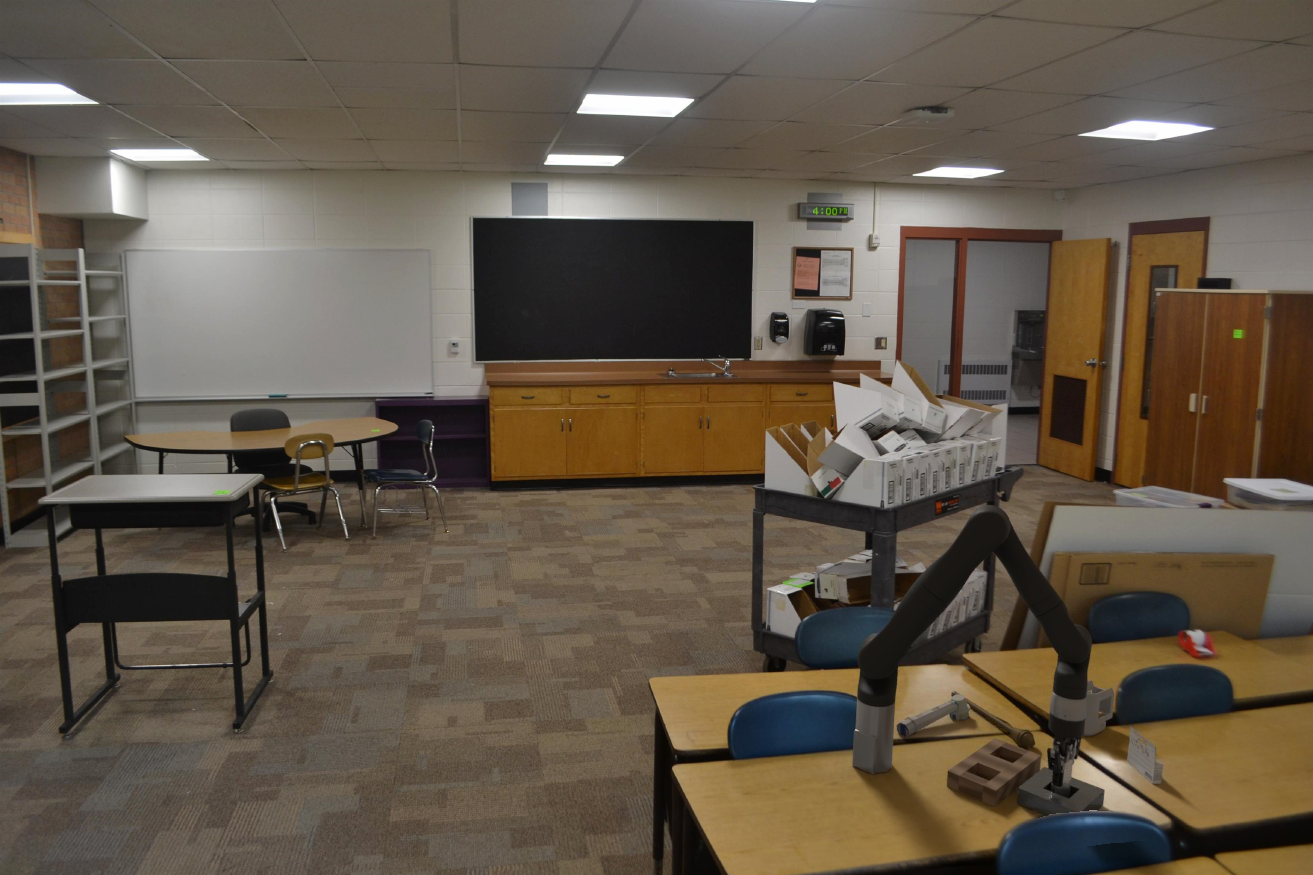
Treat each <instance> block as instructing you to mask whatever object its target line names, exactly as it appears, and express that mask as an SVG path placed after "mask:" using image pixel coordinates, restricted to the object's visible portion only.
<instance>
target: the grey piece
mask: <svg viewBox="0 0 1313 875" xmlns="http://www.w3.org/2000/svg"><path fill="white" fill-rule="evenodd" d="M966 698H967V697H966V696H965V695H963V694H961V693H959V694H957V695H954V696H952V697H951V699H950V700H949V701H947V702H944V703H941V704H939V705H936V706H935V707H932V708H929V709H927V710H925V711H922V712H919V713H918V714H915V715H913V716H911V717H910V716H907V717H906V718H904V720H902V721H900V722H898V724H896V725H895V726H896V731H897V733H898V735H899V736H901V737H903V738H906V737H909V736H910V735H915V734H917V733H918V732H919V731H920V730H922V729H924V728H926V727H928V726H930V725H931V724H933V723H935V722H937V721H939V720H941V719H943V718H945V717H946V716H948V715H949V717H950V718H951V719H952V720H954V721H962V720H963V721H966V720H967V719H968V717H969V716H970V711H971V707H970V706H969V704H967V702H966Z"/></svg>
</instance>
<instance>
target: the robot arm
mask: <svg viewBox="0 0 1313 875" xmlns="http://www.w3.org/2000/svg"><path fill="white" fill-rule="evenodd" d="M992 553H993V554H994V555H995V557H996V558H997V559H998V560H999V561H1000V563H1001V564H1002V566H1003V567H1004V568H1005V571H1006V572H1007V574H1008V575H1009V577H1010V579H1011V581H1012V583H1013V584H1014V587H1015V589H1016V591H1017V593H1018V594H1019V596H1020V597H1021V599H1022V601H1023V602H1024V604H1025V605H1026V606H1027V608H1028V609H1029V610H1030V611H1031V613H1032V614H1033V616H1034V617H1035V619H1036V620H1037V621H1038V622H1039V624H1040V625H1041V627H1042V630H1043V632H1044V634H1045V636H1046V638H1047V639H1048V641H1049V644H1050V645H1051V646H1052V648H1053V650H1054V651H1055V652H1056V654H1057V659H1056V660H1057V664H1056V666H1055V671H1054V674H1053V685H1052V693H1051V697H1050V704H1049V714H1048V715H1049V716H1048V729H1049V731H1050V732H1051V733H1052V734H1054V738H1053V740H1052V747H1048V748H1047V750H1046V754H1047V756H1046V757H1047V768H1048V769H1050V770H1053V775H1052V784H1053V785H1055V786H1057V787H1062V786H1063V777H1064V769H1065V764H1066V763H1068V760H1069V757H1071V758H1072V759H1073V765H1074V764H1075V760H1077V759H1078V757H1079V752H1080V747H1081V743H1082V738H1083V737H1084V736H1085V735H1084V730H1085V719H1086V708H1087V703H1086V695H1087V684H1088V681H1089V679H1088V678H1089V677H1088V672H1089V665H1090V659H1091V653H1092V647H1093V638H1092V635H1091V633H1090V631H1089V630H1088V629H1087V628H1086V627H1084V626H1083V625H1081V624H1077V623H1074V621H1073V620H1072V619H1071V617H1070V615H1069V610H1068V608H1067V605H1066V603H1065V602H1064V600H1062V598H1061V596H1060V595H1059V593H1058V592H1057V591H1056V589H1055V588H1054V587H1053V586H1052V584H1051V583H1050V581H1049V580H1048V579H1047V578H1046V576H1045V575H1044V574H1043V573H1042V571H1041V569H1040V568H1039V567H1038V566H1037V564H1036V562H1034V560H1033V559H1032V558H1031V556H1030V554H1029V553H1028V551H1027V550H1026V548H1025V547H1024V545H1023V543H1022V541H1021V540H1020V538H1019V537H1018V534H1017V532H1016V530H1015V528H1014V526H1013V524H1012V522H1011V520H1010V517H1009V516H1008V514H1007V512H1006V511H1005V510H1003V509H1002V508H1001V507H999V506H996V505H993V504H985V505H982V506H980V507H979V506H978V508H976V509H975V510H974V511H973V512H972V513H971V515H970V516H969V517H968V519H967V521H966V523H965V525H964V527H963V528H962V529H961V531H960V533H959V534H958V535H957V537H956V538H955V540H954V541H953V543H952V544H951V545H950V546H949V548H948V549H946V551H945V552H944V553H942V555H940V556H939V557H938V558H937V559H936V560H934V561H933V562H932V564H930V565H929V566H928V567H927V568H926V569H925V570H924V571H923V572H922V574H920V575H919V577H918V578H917V579H916V580H915V582H913V583H912V585H911V586H910V587H909V589H908V590H907V592H906V593H905V594H904V596H903V597H902V599H901V601H900V602H899V604H898V605H897V607H896V609H895V611H894V613H893V614H892V616H891V618H890V619H889V621H888V622H887V624H886V625H884V627H883V628H882V629H881V630H880V631H879V632H874V633H872V634H871V633H870V634H869V635H868V636H866V637H865V638H864V640H863V641H862V643H861V646H860V648H859V650H858V654H857V665H858V668H859V676H858V683H857V692H856V693H857V697H856V711H855V712H856V714H855V715H856V717H855V729H854V731H853V746H852V766H853V767H855V768H858V769H860V770H862V771H864V772H867V773H869V774H871V775H875V774H881V773H886V772H888V771H890V770H891V769H892V767H893V752H894V749H893V748H894V729H895V711H896V697H897V688H898V676H899V674H898V673H899V663H900V661H901V660H902V658H903V657H904V656H905V654H906V653H907V652H908V650H909V649H910V647H911V646H912V645H913V644H914V642H915V641H917V639H918V638H919V637H920V636H921V635H923V634H924V632H926V631H927V629H929V628H930V627H931V625H932V624H933V623H934V622H936V620H938V618H939V617H941V615H942V614H943V613H944V612H945V611H946V609H947V608H948V607H949V606H950V605H951V603H952V602H953V601H954V600H955V599H956V597H957V596H958V595H959V593H960V592H961V591H962V590H963V588H964V586H965V585H966V583H967V581H968V580H969V578H970V577H971V576H972V574H973V572H974V571H975V570H976V569H977V568H978V567H979V565H981V563H982V562H983V561H985V560H986V559H987V558H988V557H989V556H990V555H991V554H992ZM1060 756H1063V757H1065V758H1062V757H1060Z"/></svg>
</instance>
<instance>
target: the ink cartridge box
mask: <svg viewBox="0 0 1313 875" xmlns="http://www.w3.org/2000/svg"><path fill="white" fill-rule="evenodd" d="M1140 739H1142V741H1144V743H1145V744H1144V743H1143V742H1142V741H1141V740H1140ZM1127 749H1128V751H1127V759H1126V761H1127V763H1128V764H1129V765H1130V766H1132V767H1133V768H1134V769H1135V770H1136V771H1137V772H1138V773H1139V774H1140V775H1142V776H1143V777H1144V778H1145V779H1146V780H1148V782H1149V783H1151V784H1153V785H1161V784H1162V778H1163V770H1164V764H1163V763H1162V762H1161V761H1160V760H1158V759H1157V758H1156V755H1157V746H1156V745H1155V744H1154V743H1152V742H1151V741H1150V740H1149V739H1147V738H1146V737H1144V735H1142V734H1141V733H1139V731H1137V730H1136V729H1135V728H1133V727H1132V726H1129V744H1128V748H1127Z"/></svg>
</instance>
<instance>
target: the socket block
mask: <svg viewBox="0 0 1313 875" xmlns="http://www.w3.org/2000/svg"><path fill="white" fill-rule="evenodd" d="M1052 773H1053V770H1050V769H1048V767H1046V766H1044V767H1042V768H1040V771H1039V772H1037V773H1036V774H1035V775H1034V776H1032V777H1031V778H1030V779H1029V780H1027V781H1026V782H1025V783H1024V784H1022V785H1021V786H1020V787H1018V788H1017V796H1016V797H1017V799H1016V804H1017V805H1019V806H1021V807H1023V808H1026V809H1028V810H1031V811H1033V812H1036V813H1038V814H1041V815H1043V816H1045V815H1049V814H1056V813H1069V812H1080V811H1089V810H1098V811H1099V810H1100V809H1102V807H1104V803H1105V802H1104V801H1105V789H1104V788H1102V787H1098V786H1097V785H1094V784H1091V783H1088V782H1086V781H1083V780H1080V779H1077V778H1075V777H1073V776H1071V787H1070V798H1066V797H1063V796H1061V795H1058V794H1056V793H1053V792H1051V784H1052Z"/></svg>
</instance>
